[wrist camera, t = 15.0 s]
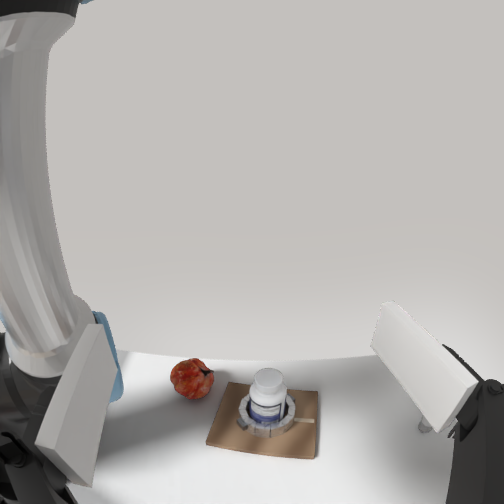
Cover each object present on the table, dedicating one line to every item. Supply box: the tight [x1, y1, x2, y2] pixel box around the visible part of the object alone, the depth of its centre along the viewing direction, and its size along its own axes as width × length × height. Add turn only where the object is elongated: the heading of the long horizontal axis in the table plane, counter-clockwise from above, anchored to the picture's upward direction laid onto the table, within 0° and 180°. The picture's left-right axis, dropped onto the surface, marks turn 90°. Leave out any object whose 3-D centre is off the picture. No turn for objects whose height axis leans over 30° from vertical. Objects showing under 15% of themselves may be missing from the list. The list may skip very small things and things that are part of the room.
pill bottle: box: [249, 368, 287, 424], centre depth 38 cm, size 5×5×10 cm
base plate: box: [206, 382, 318, 459], centre depth 40 cm, size 16×14×1 cm
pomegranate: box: [170, 358, 214, 399], centre depth 45 cm, size 7×7×10 cm
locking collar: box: [237, 393, 296, 438], centre depth 39 cm, size 8×8×2 cm
